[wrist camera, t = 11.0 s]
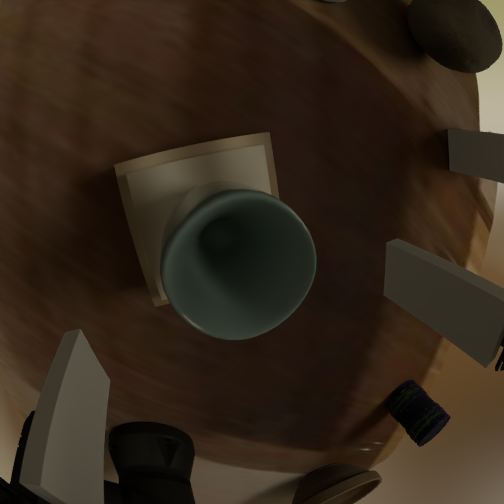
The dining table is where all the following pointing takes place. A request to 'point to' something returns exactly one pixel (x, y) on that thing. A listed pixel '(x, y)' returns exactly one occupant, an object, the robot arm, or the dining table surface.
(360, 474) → the flower pot
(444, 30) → the black ball
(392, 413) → the storage jar
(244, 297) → the cup
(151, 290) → the pedestal
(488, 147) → the milk carton
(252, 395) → the dining table surface
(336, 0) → the alcohol
